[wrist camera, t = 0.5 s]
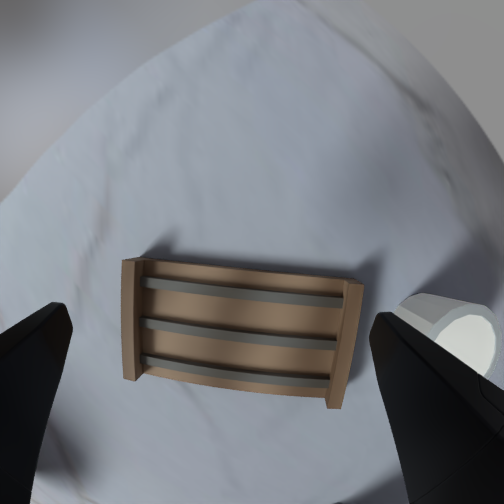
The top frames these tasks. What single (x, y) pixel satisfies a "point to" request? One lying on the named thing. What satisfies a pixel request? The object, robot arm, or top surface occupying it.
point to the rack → (239, 327)
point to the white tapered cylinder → (456, 328)
